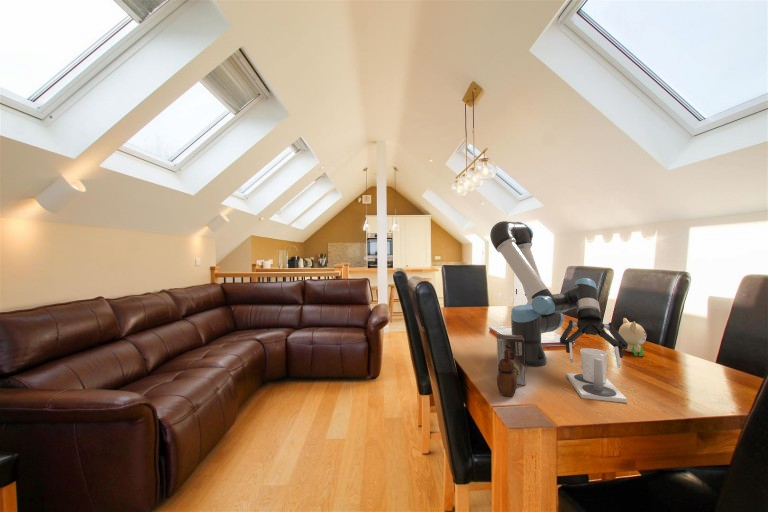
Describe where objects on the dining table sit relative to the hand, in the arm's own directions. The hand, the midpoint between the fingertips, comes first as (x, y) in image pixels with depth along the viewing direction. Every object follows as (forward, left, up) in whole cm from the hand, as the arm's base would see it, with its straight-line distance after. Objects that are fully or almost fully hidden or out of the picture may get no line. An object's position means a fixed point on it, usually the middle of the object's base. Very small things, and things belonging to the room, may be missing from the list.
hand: (594, 363), depth 106 cm
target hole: (-1, +3, -7) cm, 7 cm away
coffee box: (-27, -3, -8) cm, 28 cm away
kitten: (+29, +49, -8) cm, 58 cm away
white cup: (0, +2, -7) cm, 7 cm away
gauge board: (-1, -2, -8) cm, 8 cm away
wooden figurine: (-29, -15, -8) cm, 34 cm away
